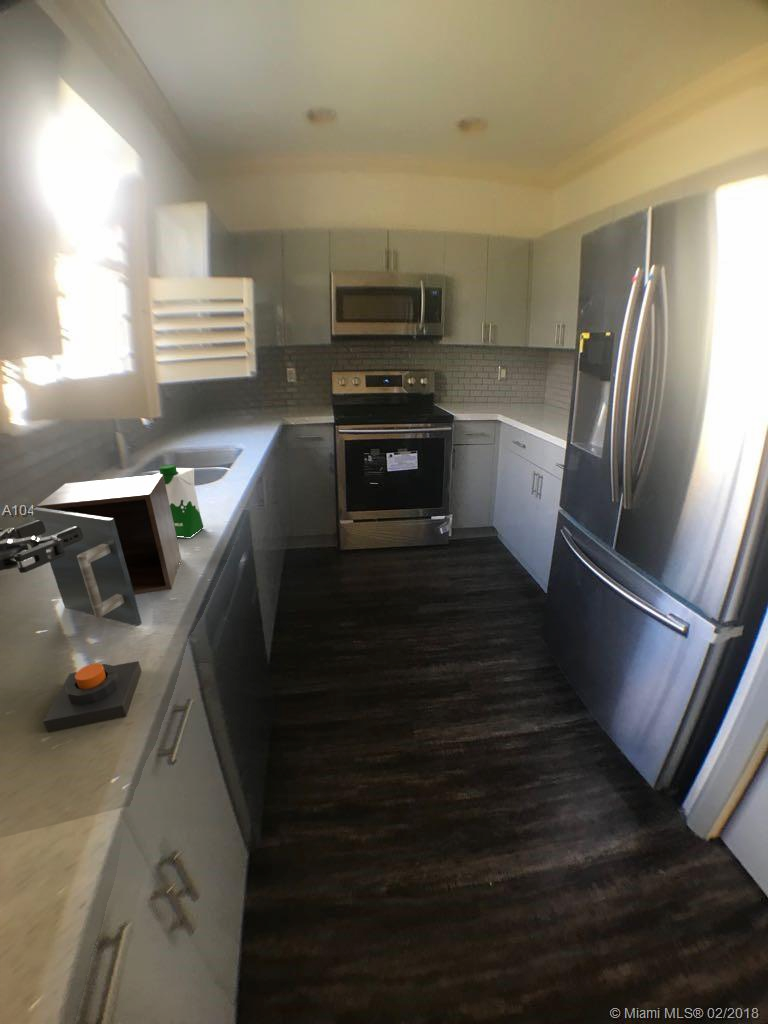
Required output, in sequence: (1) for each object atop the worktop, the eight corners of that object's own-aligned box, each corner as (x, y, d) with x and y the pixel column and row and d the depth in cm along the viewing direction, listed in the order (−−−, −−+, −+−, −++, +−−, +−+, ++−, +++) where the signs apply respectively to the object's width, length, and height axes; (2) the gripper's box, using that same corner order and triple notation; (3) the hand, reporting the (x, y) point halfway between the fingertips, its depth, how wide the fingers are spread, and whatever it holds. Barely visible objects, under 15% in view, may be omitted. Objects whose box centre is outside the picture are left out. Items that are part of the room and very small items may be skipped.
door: (113, 642, 82) (80, 532, 74) (38, 622, 89) (1, 519, 81) (141, 623, 88) (114, 518, 80) (69, 605, 95) (37, 507, 87)
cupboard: (171, 589, 100) (149, 494, 92) (68, 605, 95) (35, 506, 87) (181, 559, 113) (163, 474, 105) (91, 571, 108) (65, 483, 101)
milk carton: (162, 539, 125) (146, 468, 118) (181, 526, 133) (167, 459, 126) (191, 540, 124) (177, 469, 116) (209, 527, 132) (196, 460, 125)
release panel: (47, 733, 64) (39, 711, 62) (73, 684, 73) (66, 664, 71) (126, 717, 66) (119, 695, 64) (141, 671, 75) (136, 651, 74)
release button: (74, 691, 66) (71, 682, 65) (82, 675, 69) (79, 666, 69) (101, 686, 67) (98, 677, 66) (109, 670, 70) (106, 661, 69)
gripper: (-83, 594, 62) (38, 544, 76) (-18, 613, 57) (100, 556, 71) (-107, 544, 59) (24, 502, 73) (-40, 560, 54) (86, 511, 68)
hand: (61, 528), depth 72 cm, fingers open, 8 cm apart
